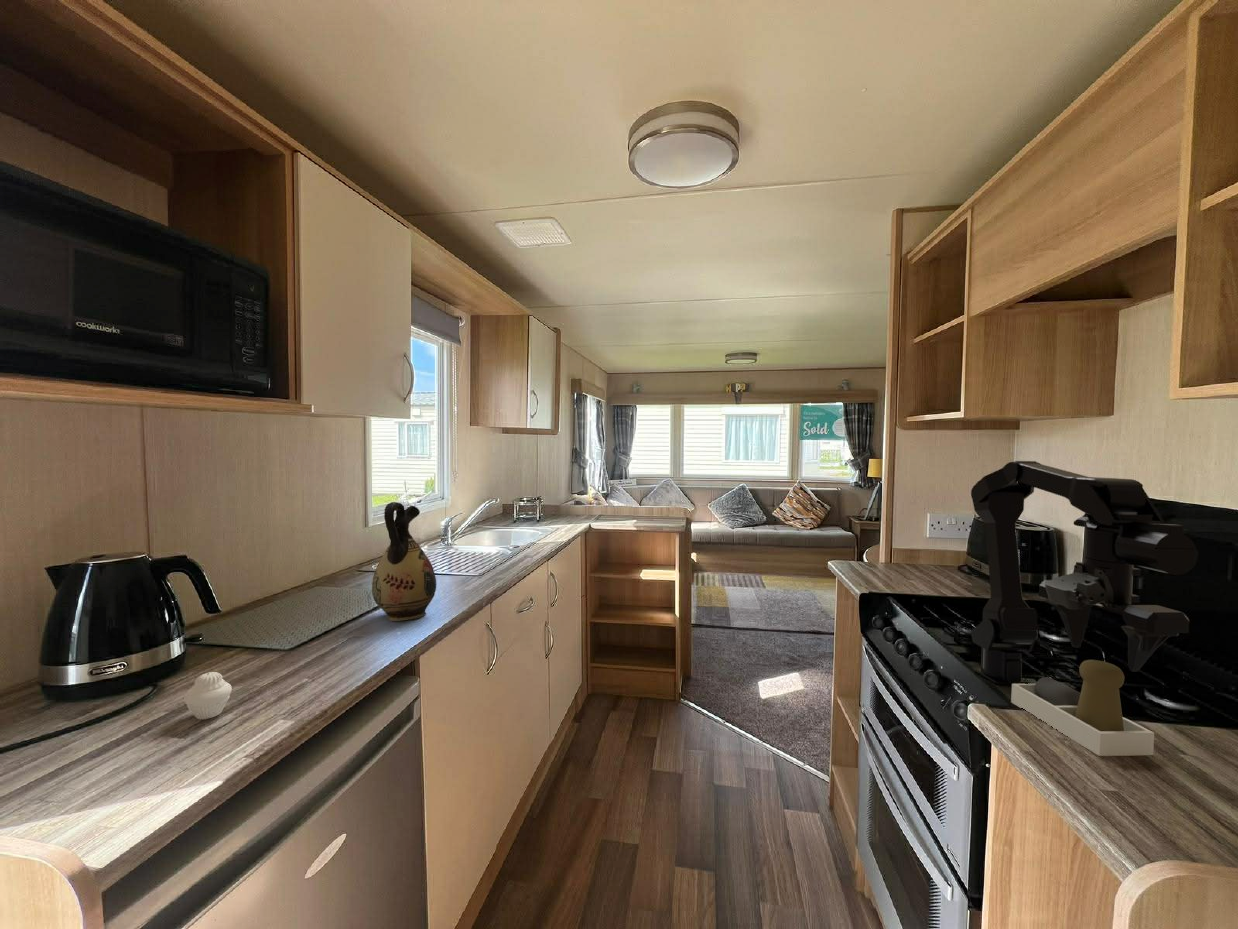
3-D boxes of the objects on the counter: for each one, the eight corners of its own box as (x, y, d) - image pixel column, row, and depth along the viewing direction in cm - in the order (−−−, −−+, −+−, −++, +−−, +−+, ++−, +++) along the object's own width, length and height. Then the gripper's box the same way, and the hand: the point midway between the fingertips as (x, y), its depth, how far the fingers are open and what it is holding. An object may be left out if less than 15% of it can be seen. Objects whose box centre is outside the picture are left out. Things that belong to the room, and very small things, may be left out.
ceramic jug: (394, 605, 145) (394, 497, 144) (446, 609, 143) (447, 499, 142) (354, 625, 128) (353, 503, 127) (412, 630, 126) (412, 506, 125)
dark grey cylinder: (1031, 693, 93) (1040, 673, 93) (1049, 702, 93) (1059, 682, 93) (1061, 710, 87) (1072, 689, 87) (1081, 720, 87) (1092, 698, 87)
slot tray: (1011, 702, 94) (1011, 683, 94) (1056, 701, 95) (1057, 683, 95) (1099, 756, 78) (1100, 733, 78) (1153, 755, 79) (1154, 732, 78)
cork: (1073, 717, 87) (1076, 652, 86) (1123, 731, 83) (1127, 662, 83) (1073, 732, 82) (1076, 663, 82) (1126, 747, 78) (1130, 674, 78)
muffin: (239, 703, 90) (238, 663, 89) (221, 722, 84) (221, 678, 83) (196, 707, 88) (196, 666, 88) (175, 726, 82) (175, 682, 82)
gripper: (1010, 547, 90) (1006, 637, 91) (1119, 573, 72) (1113, 686, 72) (1071, 547, 91) (1067, 636, 92) (1195, 574, 72) (1189, 685, 73)
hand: (1103, 658), depth 82 cm, fingers open, 9 cm apart
